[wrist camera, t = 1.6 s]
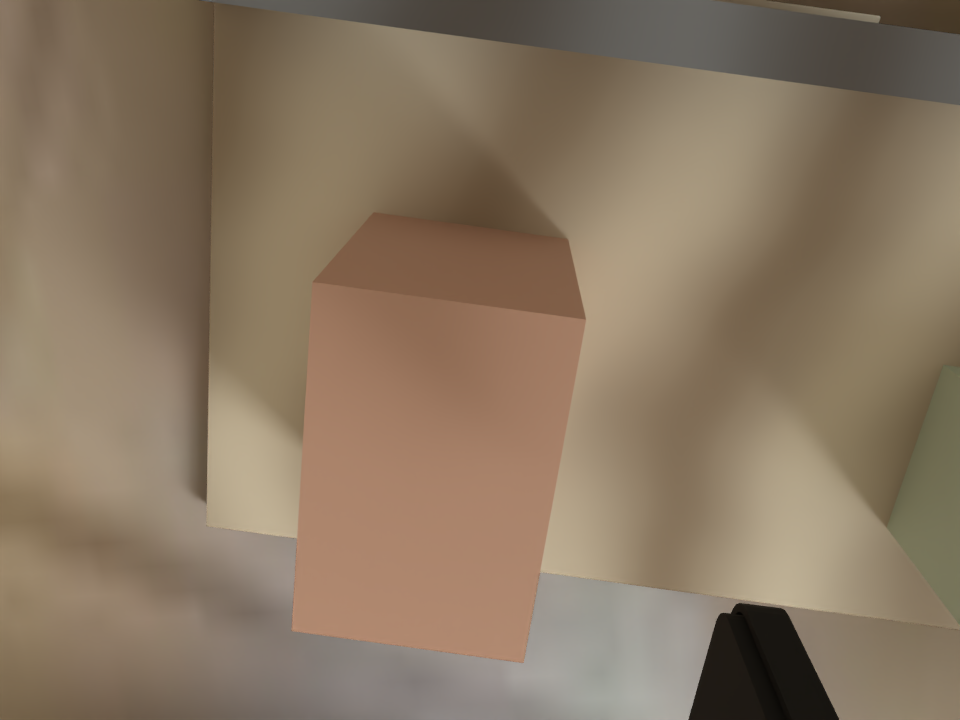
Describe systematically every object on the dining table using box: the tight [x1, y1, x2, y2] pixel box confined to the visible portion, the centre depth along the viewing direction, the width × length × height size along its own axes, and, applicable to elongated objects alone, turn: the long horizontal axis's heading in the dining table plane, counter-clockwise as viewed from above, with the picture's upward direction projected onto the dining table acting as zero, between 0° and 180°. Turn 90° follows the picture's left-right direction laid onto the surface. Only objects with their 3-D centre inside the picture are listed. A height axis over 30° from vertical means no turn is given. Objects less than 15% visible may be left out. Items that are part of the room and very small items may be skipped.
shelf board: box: [201, 0, 960, 630], centre depth 19 cm, size 26×14×3 cm, turn 83°
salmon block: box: [292, 212, 586, 663], centre depth 18 cm, size 7×5×6 cm, turn 173°
